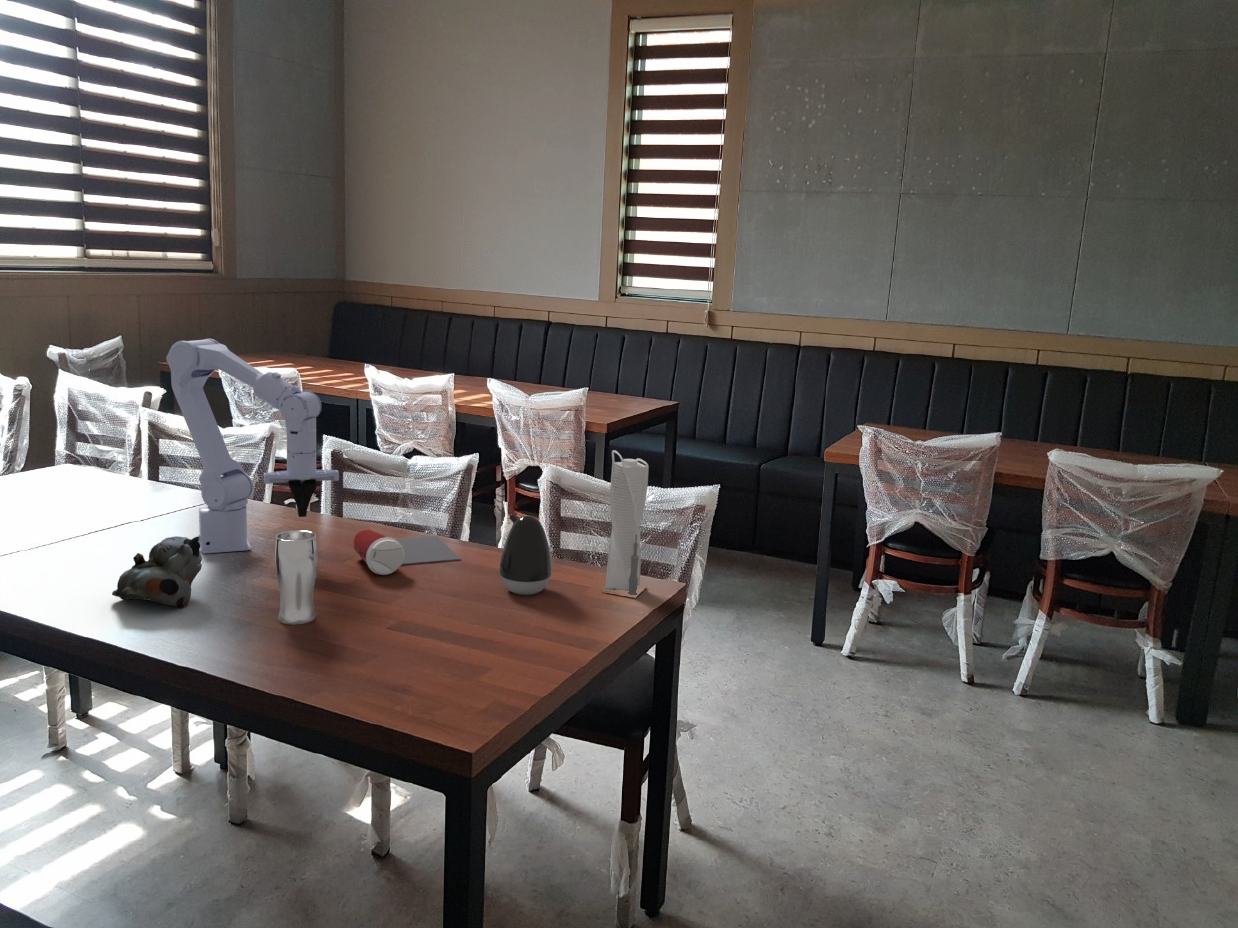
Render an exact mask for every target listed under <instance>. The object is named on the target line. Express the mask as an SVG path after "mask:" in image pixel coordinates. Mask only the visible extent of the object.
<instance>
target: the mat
mask: <svg viewBox="0 0 1238 928" xmlns="http://www.w3.org/2000/svg"><path fill="white" fill-rule="evenodd" d="M395 539H396V540H397V541H398V542H399V543H400V544H401V545H402V547H403V550H404V554H405V555H404V561H403V563H402V565H401V566H409V565H419V564H421V565H422V564H430V563H441V562H442V563H443V562H444V561H445V562H455V561H456V562H457V561H461V560H462V558H460V556H459V555H457V553H456V552H454V551H453V549H451V548H450V547H449V546H448V545H447V544H446V543H445V542H444V541H443V540H442V539H441V538H439V536H437V535H431V536H418V537H405V538H395Z"/></svg>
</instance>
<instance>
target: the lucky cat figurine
mask: <svg viewBox="0 0 1238 928" xmlns="http://www.w3.org/2000/svg"><path fill="white" fill-rule="evenodd" d="M132 559H133V561H134V565H132V566H131V568H129V569H127V570H125V571H124V572H123V573H122V574H120V576H119V579H118V581H117V586H116V587H117V589H116V590H113V591H112V592H111V595H112V596H114V597H117V598H119V599H121V600H122V601H125V600H126V599H131V600H142V601H143V600H145V601H152V602H155V603H159V604H163V605H167V606H173V607H177V608H179V609H183V608H185V607H186V606H187V605H188V604H189V603H190V600H191V596H192V583H193V581H194V580H195V579H196V577H197V575H198V574H199V572H201V570H202V567H203V564H201V562H202V560H203V556H202V551H201V547H200V543H199V536H195V537H193V538H188V537H187V536H184V537H183V536H176V535H175V536H170V537H165V538H164V539H162V540H161V541H160V542H157V543H156V544H155V545H154V546H152V547H151V549H150V551H149V553H148V560H145V557H144V555H143V554H142V553H139V552H138V553H136V554H135V555H134V556H133V558H132Z"/></svg>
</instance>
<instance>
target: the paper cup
mask: <svg viewBox="0 0 1238 928" xmlns="http://www.w3.org/2000/svg"><path fill="white" fill-rule="evenodd" d="M396 539H397V538H394V537H390V536H389V537H388V536H387V535H384V534H381V533H380V532H377V531H375V530H372V529H367V528H366V529H362V530H359V531H358V532H357V533H356V534H355V536H354V537H353V539H352V547H353V549H354V551H355V553H356V554H357V555H358V556H359V557H360V558H361V559H362V560H363V561H364V562H365V563H366V564H367V567H368V569H369V570H370V571H371V572H373V573H374V574H377V575H381V576H385V575H390V574H392V573H394V572H396V571H397V570H398V569H399V568H400V567H401V566H403V565H402V563H403V561H404V555H405V554H404V550H403V547H402V545H401V544H400V543H399V542H398V541H397V540H396Z"/></svg>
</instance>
